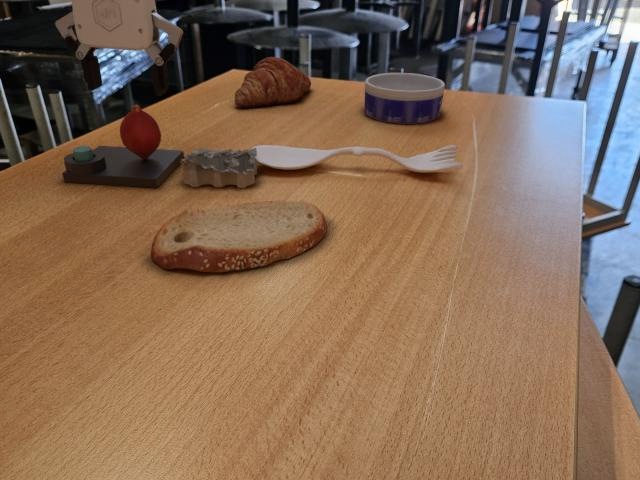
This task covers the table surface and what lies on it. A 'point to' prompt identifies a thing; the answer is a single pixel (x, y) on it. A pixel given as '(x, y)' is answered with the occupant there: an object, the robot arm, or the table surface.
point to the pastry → (272, 84)
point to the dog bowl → (403, 97)
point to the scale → (122, 167)
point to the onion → (140, 132)
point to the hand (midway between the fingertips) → (128, 91)
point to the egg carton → (220, 167)
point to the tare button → (83, 153)
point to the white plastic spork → (308, 157)
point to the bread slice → (238, 236)
